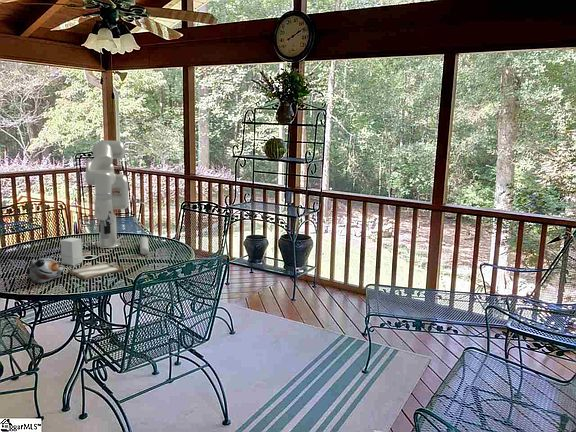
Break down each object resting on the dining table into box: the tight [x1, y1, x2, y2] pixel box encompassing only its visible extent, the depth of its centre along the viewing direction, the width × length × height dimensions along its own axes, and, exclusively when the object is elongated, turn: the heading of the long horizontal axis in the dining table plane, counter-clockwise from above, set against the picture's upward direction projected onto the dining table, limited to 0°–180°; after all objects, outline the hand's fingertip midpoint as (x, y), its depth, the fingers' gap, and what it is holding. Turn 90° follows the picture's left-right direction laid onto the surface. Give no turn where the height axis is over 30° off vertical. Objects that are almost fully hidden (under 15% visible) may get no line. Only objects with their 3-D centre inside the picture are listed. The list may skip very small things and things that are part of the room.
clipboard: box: [67, 262, 125, 281], centre depth 238 cm, size 16×20×2 cm
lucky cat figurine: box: [26, 257, 65, 284], centre depth 223 cm, size 15×12×14 cm
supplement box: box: [60, 237, 84, 266], centre depth 250 cm, size 7×7×13 cm
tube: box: [139, 236, 150, 256], centre depth 281 cm, size 5×5×25 cm
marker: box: [100, 219, 109, 239], centre depth 243 cm, size 4×4×12 cm
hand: (104, 232), depth 244 cm, fingers closed on marker, 4 cm apart
